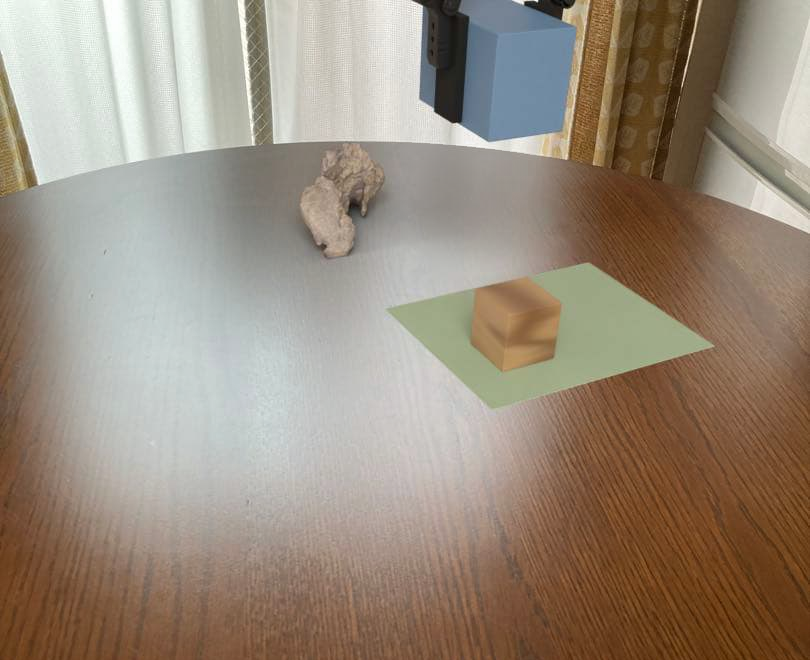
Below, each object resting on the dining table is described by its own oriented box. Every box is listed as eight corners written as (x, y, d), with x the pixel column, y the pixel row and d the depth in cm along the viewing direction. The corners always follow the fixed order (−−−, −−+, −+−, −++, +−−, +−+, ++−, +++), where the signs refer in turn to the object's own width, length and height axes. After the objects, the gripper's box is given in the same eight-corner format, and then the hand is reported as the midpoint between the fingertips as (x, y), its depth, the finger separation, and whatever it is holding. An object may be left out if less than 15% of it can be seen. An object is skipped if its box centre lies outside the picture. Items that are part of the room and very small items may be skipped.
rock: (285, 253, 82) (280, 173, 78) (335, 196, 93) (334, 121, 88) (347, 262, 81) (346, 181, 77) (391, 203, 92) (393, 128, 87)
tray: (586, 274, 81) (588, 261, 80) (711, 359, 71) (715, 345, 70) (384, 322, 74) (384, 308, 73) (490, 424, 63) (492, 409, 62)
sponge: (562, 131, 64) (577, 26, 59) (488, 142, 61) (498, 34, 57) (488, 90, 70) (496, -7, 66) (418, 99, 68) (422, -1, 64)
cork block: (520, 331, 71) (527, 276, 68) (554, 358, 68) (562, 302, 65) (470, 344, 69) (474, 288, 66) (502, 372, 66) (508, 315, 63)
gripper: (625, -325, 56) (568, 83, 71) (341, -346, 49) (345, 111, 65) (707, -327, 51) (627, 112, 67) (404, -351, 44) (393, 145, 60)
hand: (488, 111), depth 66 cm, fingers closed on sponge, 6 cm apart
